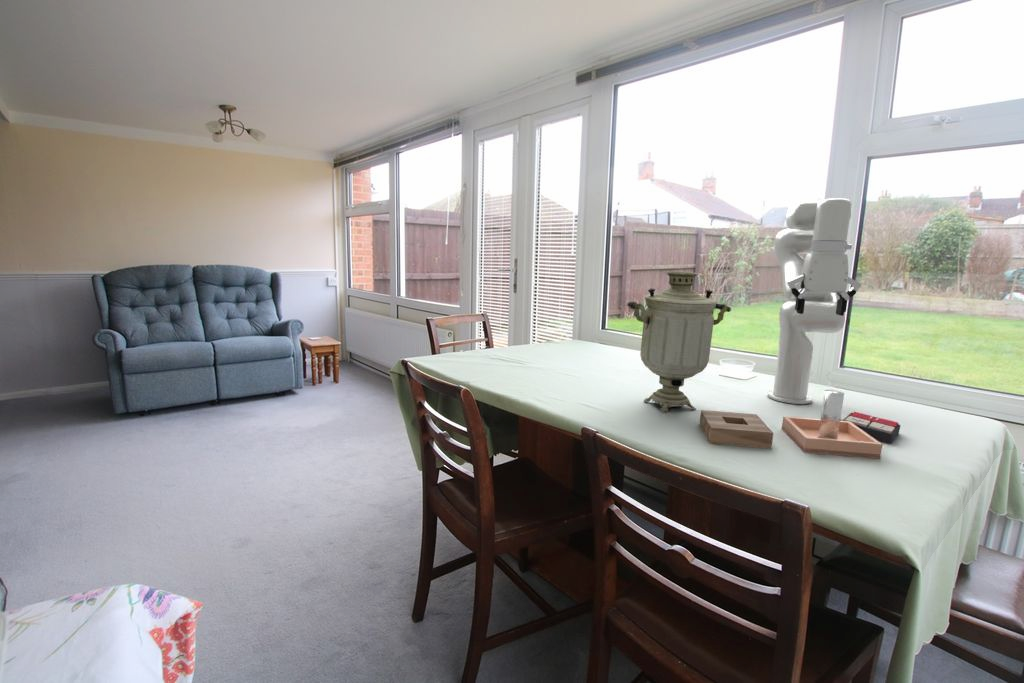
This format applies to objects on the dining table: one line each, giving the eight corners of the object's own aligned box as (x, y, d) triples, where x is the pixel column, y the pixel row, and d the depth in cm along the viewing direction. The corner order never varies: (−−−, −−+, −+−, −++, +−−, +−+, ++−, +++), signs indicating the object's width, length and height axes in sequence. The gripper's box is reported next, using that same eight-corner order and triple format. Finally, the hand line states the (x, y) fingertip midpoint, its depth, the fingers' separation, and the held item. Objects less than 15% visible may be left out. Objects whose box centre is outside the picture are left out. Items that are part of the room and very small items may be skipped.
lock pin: (815, 435, 126) (822, 389, 124) (833, 436, 125) (839, 390, 123) (822, 441, 122) (828, 393, 120) (840, 442, 121) (847, 394, 119)
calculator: (893, 431, 123) (824, 414, 133) (889, 448, 124) (821, 429, 134) (901, 421, 131) (835, 405, 141) (898, 437, 132) (832, 420, 142)
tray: (781, 428, 133) (783, 416, 132) (847, 434, 130) (849, 421, 130) (804, 452, 118) (806, 438, 117) (880, 458, 115) (882, 444, 114)
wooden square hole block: (699, 424, 135) (700, 410, 135) (754, 428, 133) (756, 414, 132) (709, 443, 122) (711, 427, 121) (771, 448, 119) (773, 432, 119)
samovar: (706, 393, 165) (718, 271, 158) (733, 419, 140) (748, 275, 133) (615, 389, 168) (622, 269, 161) (624, 414, 142) (634, 272, 135)
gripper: (858, 249, 131) (849, 314, 135) (787, 247, 135) (779, 311, 138) (872, 249, 124) (862, 317, 127) (797, 247, 127) (789, 314, 130)
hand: (819, 314), depth 132 cm, fingers open, 9 cm apart
